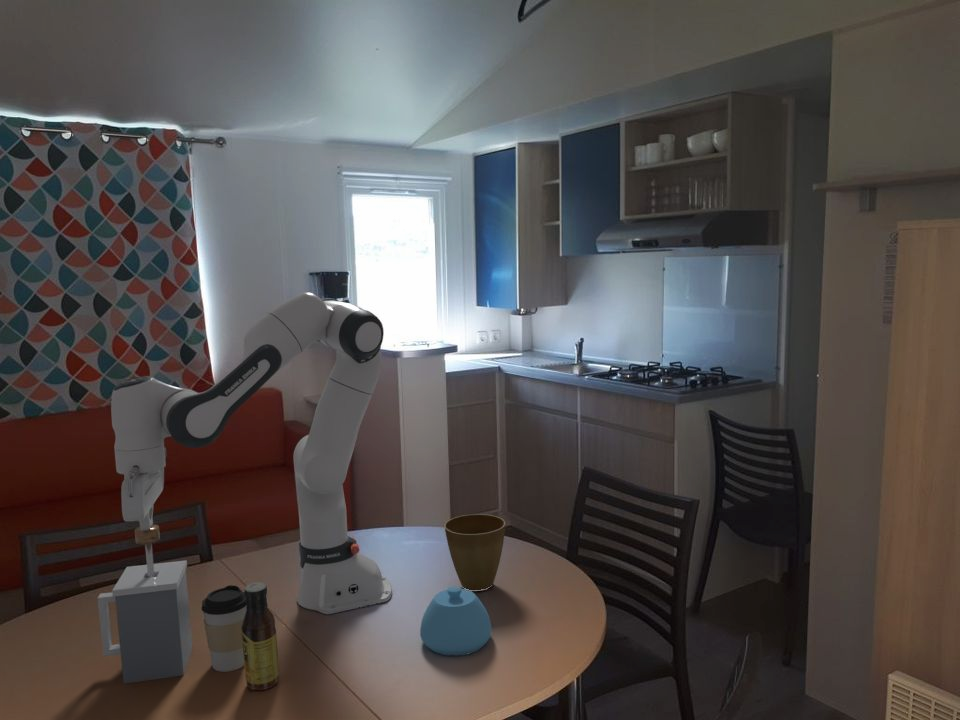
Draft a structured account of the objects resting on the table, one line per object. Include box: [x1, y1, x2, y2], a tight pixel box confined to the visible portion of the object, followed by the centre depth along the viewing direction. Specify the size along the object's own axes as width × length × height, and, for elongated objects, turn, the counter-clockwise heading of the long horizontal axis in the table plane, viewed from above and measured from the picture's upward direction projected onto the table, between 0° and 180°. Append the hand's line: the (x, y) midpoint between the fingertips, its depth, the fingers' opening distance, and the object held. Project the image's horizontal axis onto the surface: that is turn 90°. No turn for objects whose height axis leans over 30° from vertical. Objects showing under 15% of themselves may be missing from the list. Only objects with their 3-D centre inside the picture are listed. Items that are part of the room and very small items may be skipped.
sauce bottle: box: [241, 581, 280, 691], centre depth 142 cm, size 7×6×20 cm
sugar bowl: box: [419, 586, 493, 656], centre depth 156 cm, size 15×15×12 cm
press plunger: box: [134, 524, 161, 578], centre depth 149 cm, size 4×4×21 cm
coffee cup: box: [201, 584, 247, 673], centre depth 150 cm, size 9×9×15 cm
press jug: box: [97, 560, 193, 685], centre depth 149 cm, size 16×12×19 cm
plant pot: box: [443, 513, 506, 590], centre depth 182 cm, size 15×15×16 cm
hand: (146, 528), depth 147 cm, fingers closed, pressing on press plunger
